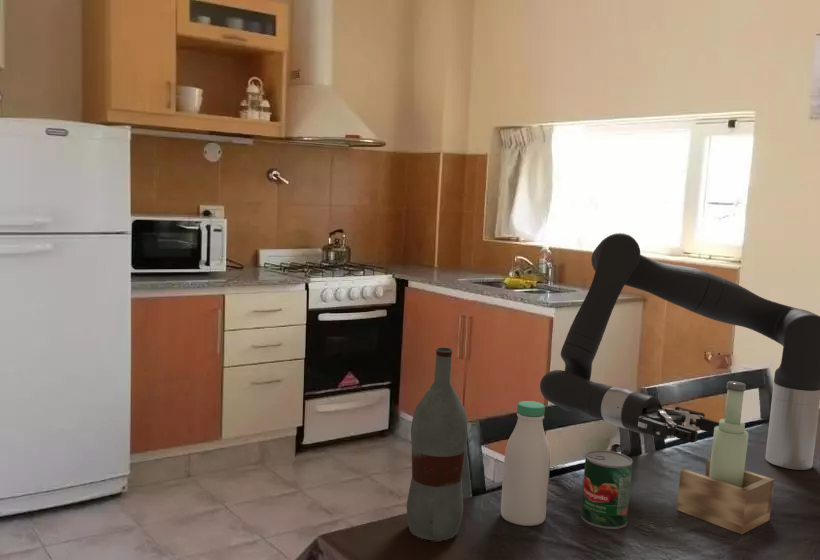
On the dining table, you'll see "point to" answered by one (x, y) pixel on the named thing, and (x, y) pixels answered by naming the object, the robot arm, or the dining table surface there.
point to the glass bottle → (730, 440)
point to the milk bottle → (526, 468)
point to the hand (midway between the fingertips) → (708, 432)
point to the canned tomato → (606, 489)
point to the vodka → (437, 457)
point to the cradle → (726, 499)
